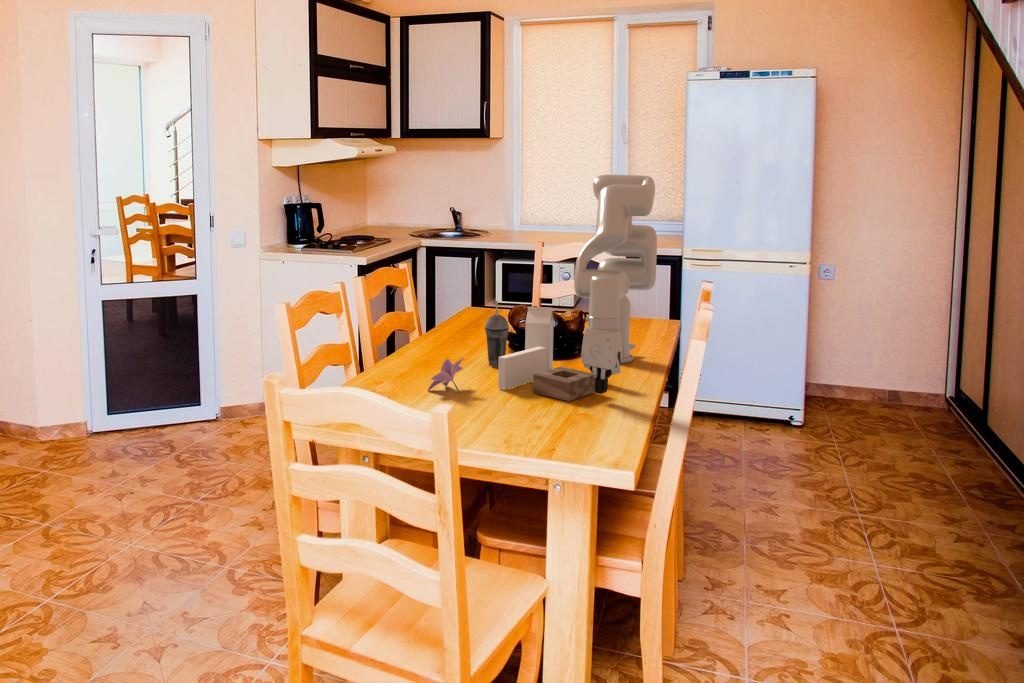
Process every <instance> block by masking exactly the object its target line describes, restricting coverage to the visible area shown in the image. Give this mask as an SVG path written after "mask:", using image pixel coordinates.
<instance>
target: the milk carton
mask: <svg viewBox="0 0 1024 683" xmlns="http://www.w3.org/2000/svg"><path fill="white" fill-rule="evenodd" d="M525 318H526V319H525V322H524V323H525V329H524V330H525V333H524V334H525V335H524V336H525V337H524V338H525V342H524V350H527V349H531V348H535V347H539V346H542V347H547V360H546V371H547V370H550V369H553V364H554V362H553V361H554V353H553V352H554V322H555V320H554V314H553V307H540V306H538V307H537V306H527V313H526V317H525Z"/></svg>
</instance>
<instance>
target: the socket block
mask: <svg viewBox="0 0 1024 683" xmlns="http://www.w3.org/2000/svg"><path fill="white" fill-rule="evenodd" d="M532 393H534V394H538V395H542V396H546V397H550V398H553V399H558V400H563V401H567V402H571V401H574V400H577V399H579V398H582V397H585V396H589V395H592V394H595V378H594V377H593V373H592V372H590V371H589V372H588V371H584V370H579V369H574V368H570V367H565V366H557V367H554V368H553V367H552V369H550V370H547V371H543V372H540V373H537V374H533V382H532Z"/></svg>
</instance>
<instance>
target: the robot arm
mask: <svg viewBox="0 0 1024 683" xmlns="http://www.w3.org/2000/svg"><path fill="white" fill-rule="evenodd" d="M592 183H593V184H592V190H593V194H594V196H595V199H596V200H597V201H598V204H597V212H596V226H595V234H594V235H593V236H592V238H590V239H589V240H588V241H587V242H586V243H585V244H584V245H583V246H582V247H581V249H580V251H579V253H578V255H577V258H576V261H575V262H576V263H575V269H574V270H575V272H574V277H573V278H574V279H573V288H574V292H575V294H576V295H577V296H578V297H580V298H583V299H589V301H588V302H589V303H588V304H589V305H588V307H589V308H588V316H586V317H585V322H588V326H586V327H585V329H584V334H583V337H582V344H581V353H580V354H581V355H580V362H581V363H582V365H583V367H584V368H585V369H587V370H589V372H590V373H593V377H594V378H595V392H594V394H598V395H602V394H606V393H607V392H608V388H609V387H608V386H609V384H608V383H609V378H610V377H611V376H613V375H617V374H620V373H621V371H622V370H621V366H622V364H627V363H632V362H633V361H634V355H633V354H632V353H630V351H631V350H634V349H636V344H635V343H634V342H632V343H630V332H631V331H630V329H631V326H630V325H631V308H632V307H631V306H632V305H631V302H630V299H629V298H628V296H627V294H628V293H629V291H630V290H631V291H650V290H651V289H653V287H654V286H655V284H656V276H657V259H658V258H657V257H658V256H657V255H658V254H657V253H658V252H657V251H658V238H657V233H656V230H655V228H654V227H652V226H651V225H646V224H633V217H648V216H649V215H650V214H651V212H652V211H653V207H654V201H655V200H654V199H655V194H656V184H655V181H654V179H653V177H651V176H649V175H635V174H634V175H632V174H631V175H630V174H628V175H627V174H601V175H598V176H596V177H595V178H594V179H593V182H592ZM602 253H606V254H607V255H609V256H611V257H608V258H604V259H603V260H601V261H600V262H599V264H598V265H597V266H598V267H597V269H594V268H593V269H592V268H591V269H587V267H588V263H590V261H592V259H593V258H595V257H596V256H598V255H601V254H602ZM612 256H613V257H612ZM628 257H629V258H628Z"/></svg>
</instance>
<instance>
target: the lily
mask: <svg viewBox="0 0 1024 683" xmlns="http://www.w3.org/2000/svg"><path fill="white" fill-rule="evenodd" d="M464 359H465V357H462V358H461V359H459V360H457V361H456V362H454V364H453V362H452V361H451V360H450V359H449V358H446V359H445V360H444V362H443V363H442V364H441V366H440V372H439V373H437V374H435V375H433V376H432V377H431V378H430V380H431V381H432V382H431V384H430V385H429V387H428V389H427V391H428V392H429V391H430V390H432V389H433V388H434V387H436V386H437V385H439V384H442V385H443V386H444V387H446V388H447V387H448V386H449V383H450V382H452V383H453V384H454V387H455V388H456V391H457V393H458V394H459V393H460V390H459V389H458V386H457V385H456V383H455V380H454V378H455V375H456V373H458V372H461V371H462V370H464V367H463V366H462V365H460V364H461V363H462V362H463V360H464Z"/></svg>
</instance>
